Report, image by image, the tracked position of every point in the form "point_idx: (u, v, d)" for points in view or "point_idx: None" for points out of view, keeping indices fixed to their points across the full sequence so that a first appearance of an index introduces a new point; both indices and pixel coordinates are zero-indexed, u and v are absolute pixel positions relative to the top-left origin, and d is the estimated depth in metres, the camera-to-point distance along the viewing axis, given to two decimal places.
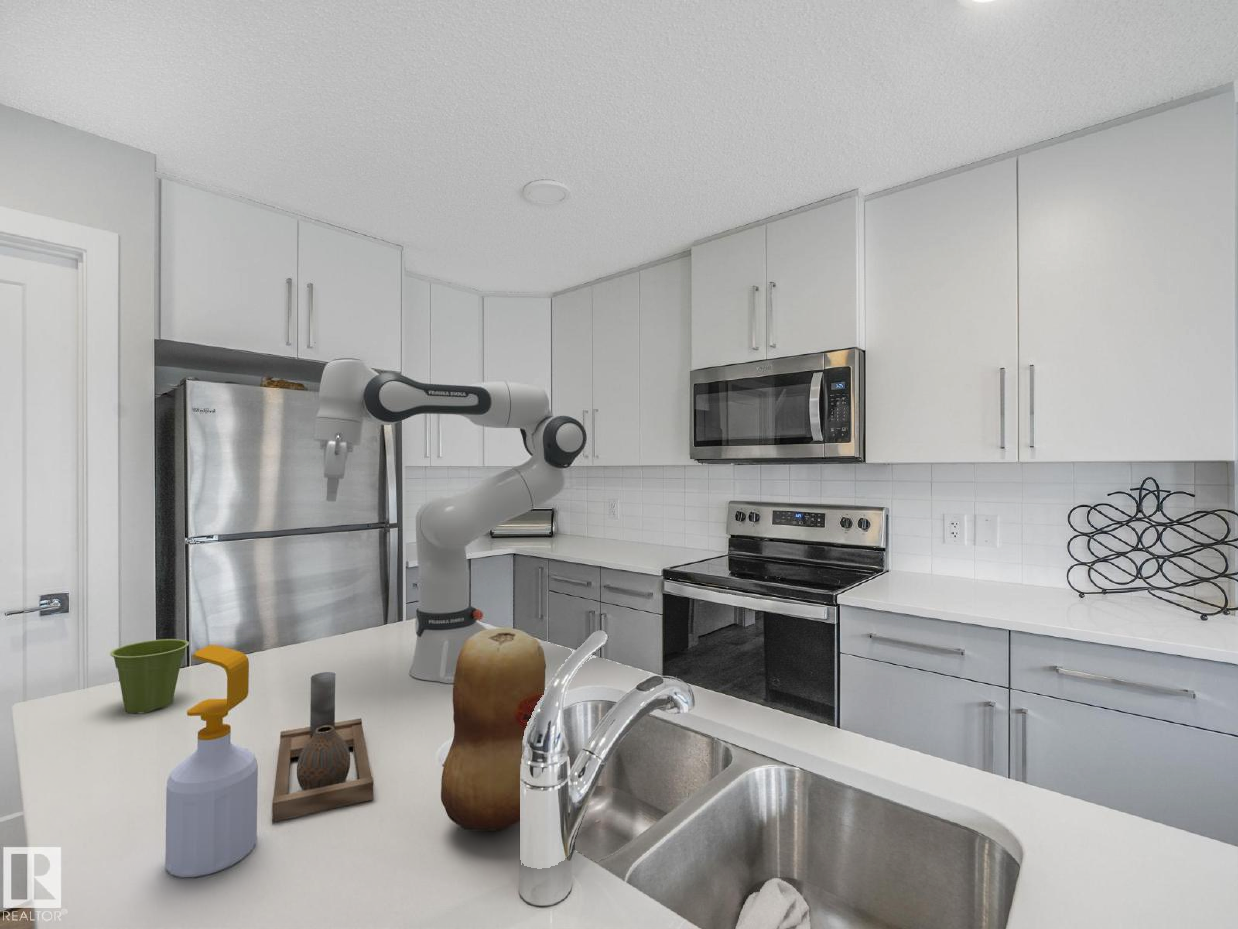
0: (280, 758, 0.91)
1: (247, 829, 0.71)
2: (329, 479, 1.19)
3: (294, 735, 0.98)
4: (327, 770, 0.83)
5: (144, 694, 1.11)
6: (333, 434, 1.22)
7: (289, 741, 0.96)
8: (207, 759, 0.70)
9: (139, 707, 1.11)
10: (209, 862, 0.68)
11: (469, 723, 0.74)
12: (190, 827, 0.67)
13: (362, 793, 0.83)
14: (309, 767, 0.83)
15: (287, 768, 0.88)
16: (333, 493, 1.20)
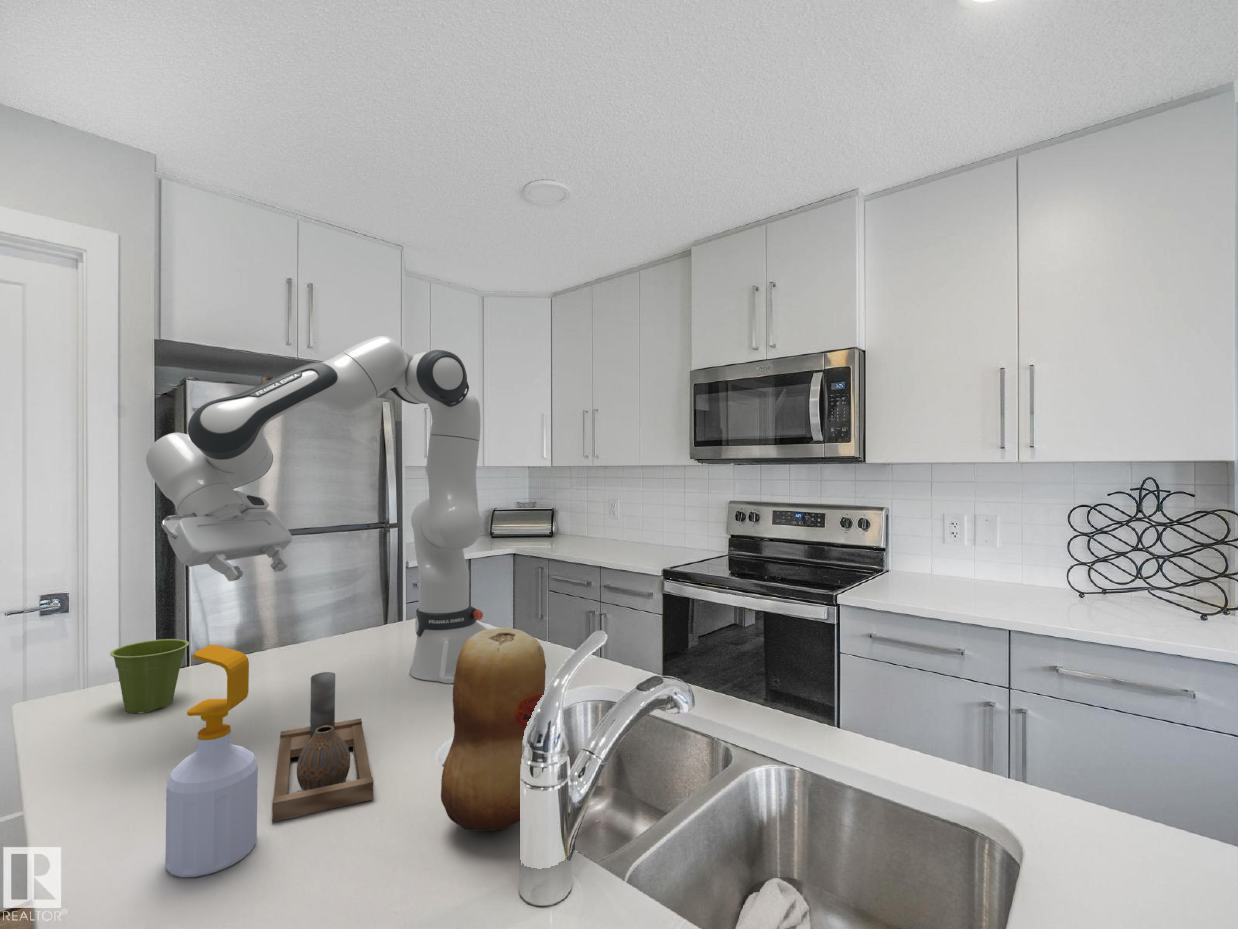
0: (280, 758, 0.91)
1: (247, 829, 0.71)
2: (209, 562, 0.96)
3: (294, 735, 0.98)
4: (327, 770, 0.83)
5: (144, 694, 1.11)
6: None
7: (289, 741, 0.96)
8: (207, 759, 0.70)
9: (139, 707, 1.11)
10: (209, 862, 0.68)
11: (469, 723, 0.74)
12: (190, 827, 0.67)
13: (362, 793, 0.83)
14: (309, 767, 0.83)
15: (287, 768, 0.88)
16: (228, 570, 0.96)
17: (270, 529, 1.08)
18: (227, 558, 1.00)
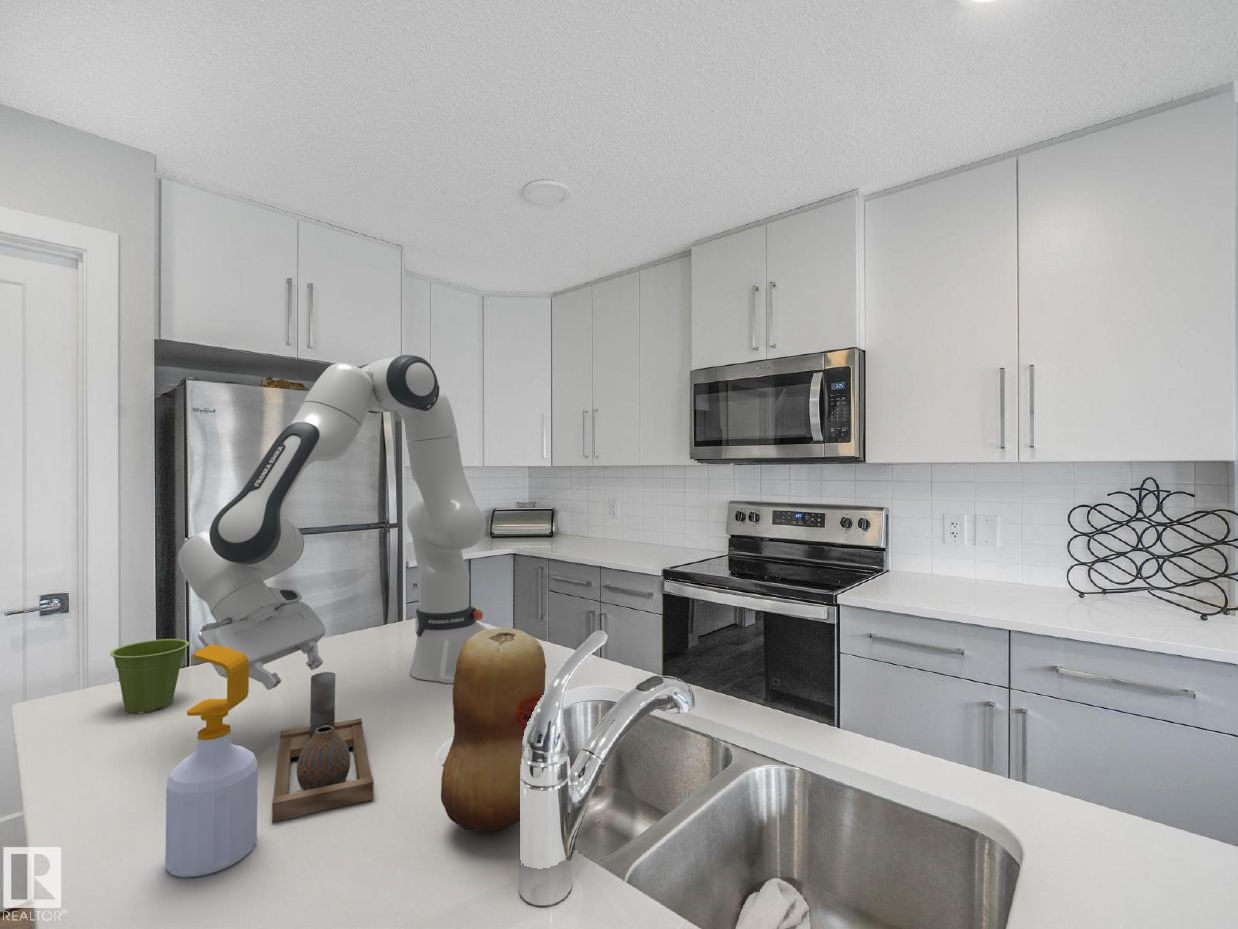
0: (280, 758, 0.91)
1: (247, 829, 0.71)
2: None
3: (294, 735, 0.98)
4: (327, 770, 0.83)
5: (144, 694, 1.11)
6: None
7: (289, 741, 0.96)
8: (207, 759, 0.70)
9: (139, 707, 1.11)
10: (209, 862, 0.68)
11: (469, 723, 0.74)
12: (190, 827, 0.67)
13: (362, 793, 0.83)
14: (309, 767, 0.83)
15: (287, 768, 0.88)
16: (266, 678, 0.94)
17: (304, 624, 1.06)
18: (264, 662, 0.98)
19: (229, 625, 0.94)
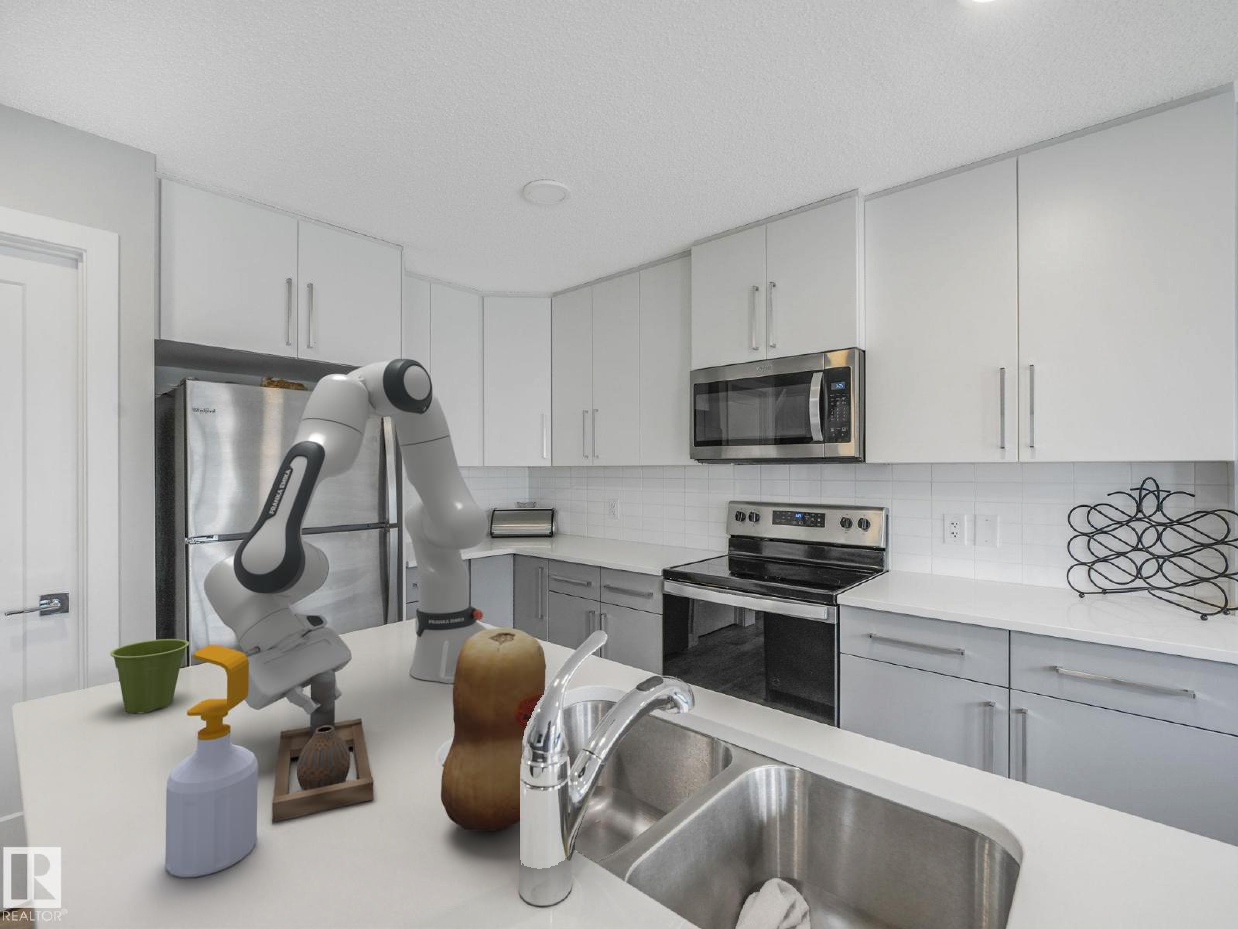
0: (280, 758, 0.91)
1: (247, 829, 0.71)
2: (287, 696, 0.95)
3: (294, 735, 0.98)
4: (327, 770, 0.83)
5: (144, 694, 1.11)
6: None
7: (289, 741, 0.96)
8: (207, 759, 0.70)
9: (139, 707, 1.11)
10: (209, 862, 0.68)
11: (469, 723, 0.74)
12: (190, 827, 0.67)
13: (362, 793, 0.83)
14: (309, 767, 0.83)
15: (287, 768, 0.88)
16: (306, 703, 0.95)
17: (330, 650, 1.05)
18: None
19: (258, 655, 0.93)
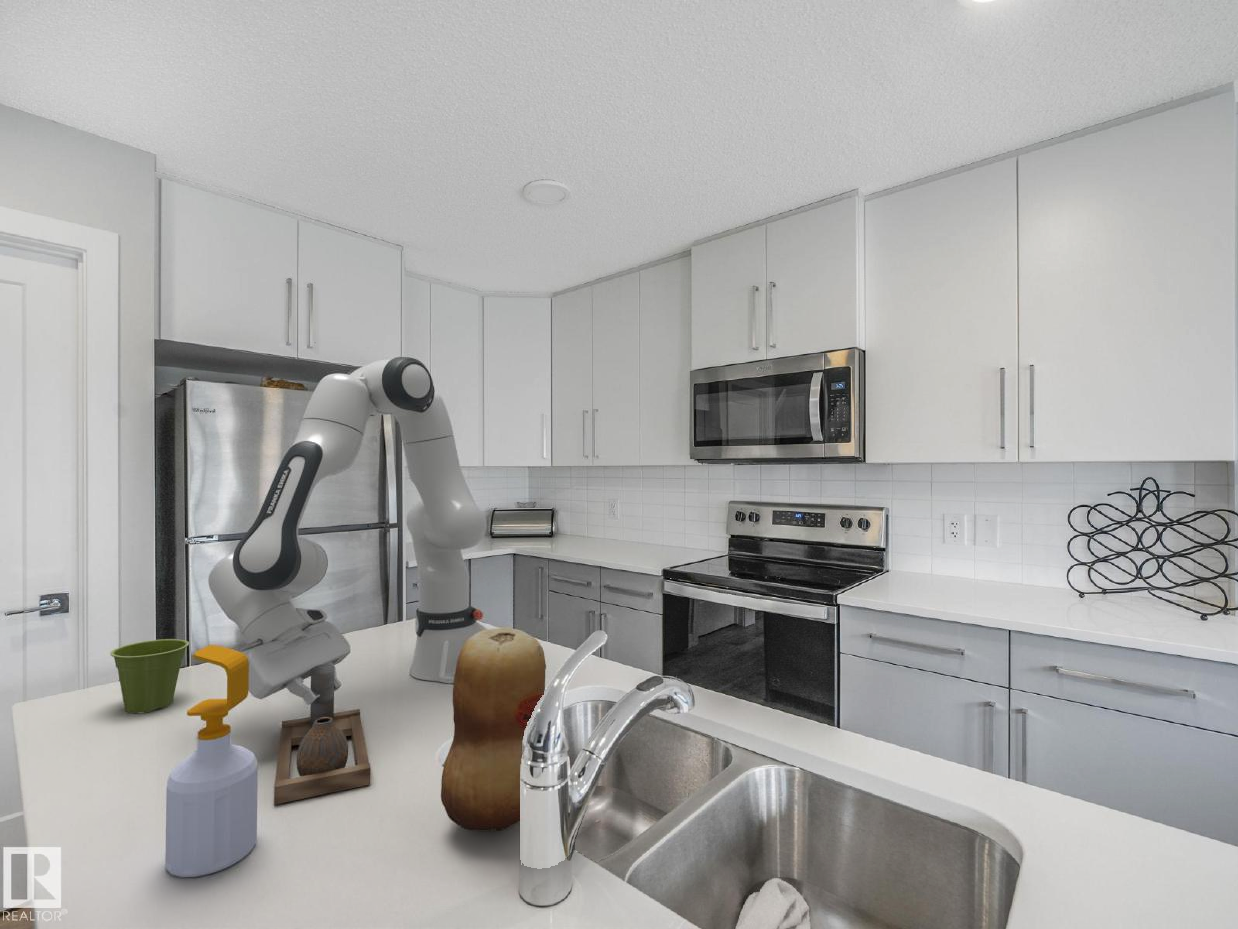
0: (281, 746, 0.94)
1: (247, 829, 0.71)
2: (288, 687, 0.99)
3: (295, 725, 1.02)
4: (326, 760, 0.86)
5: (144, 694, 1.11)
6: None
7: (290, 730, 1.00)
8: (207, 759, 0.70)
9: (139, 707, 1.11)
10: (209, 862, 0.68)
11: (469, 723, 0.74)
12: (190, 827, 0.67)
13: (360, 778, 0.87)
14: (309, 757, 0.86)
15: (288, 755, 0.91)
16: (306, 693, 0.99)
17: (330, 643, 1.09)
18: None
19: (261, 647, 0.97)
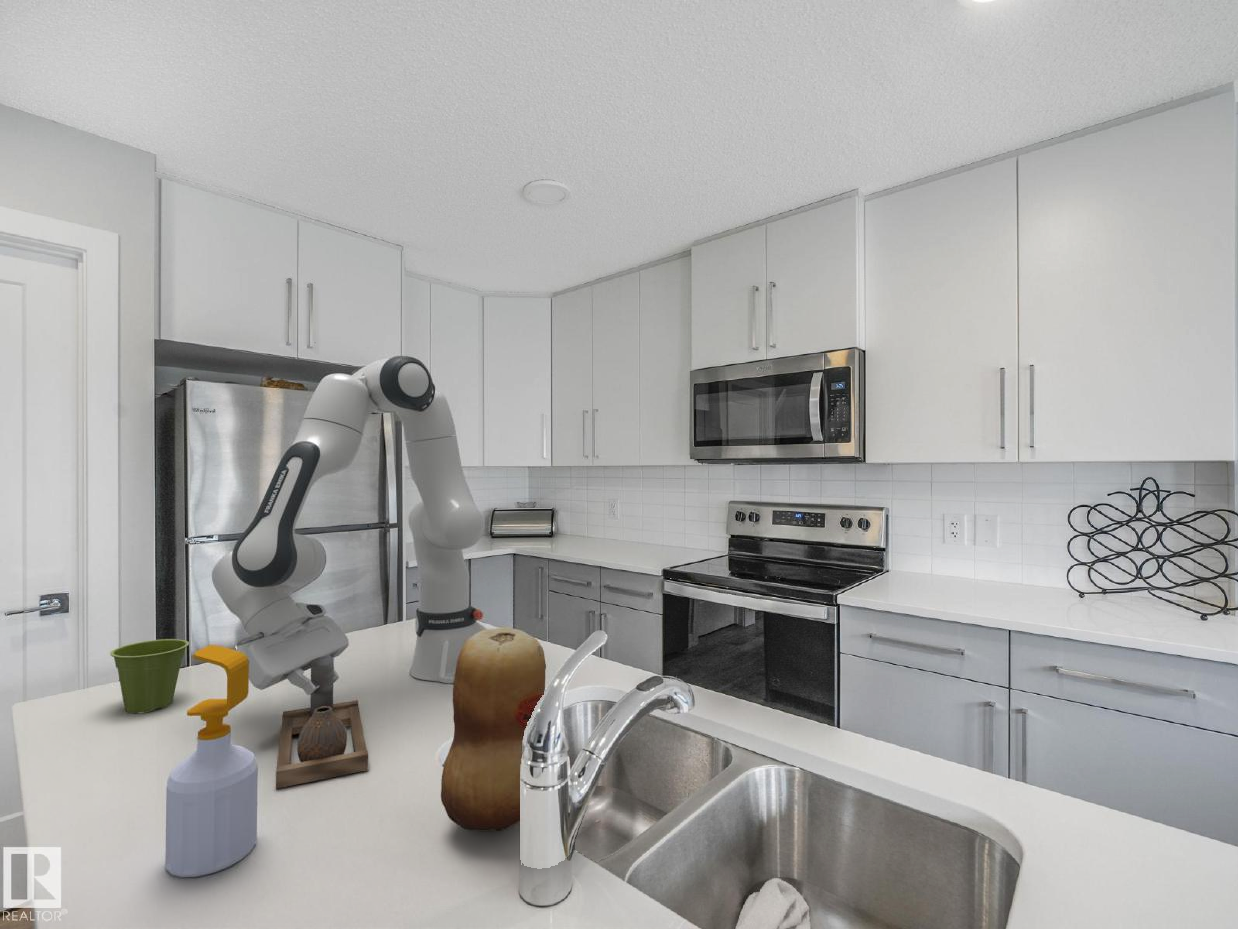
0: (282, 734, 0.98)
1: (247, 829, 0.71)
2: (289, 678, 1.03)
3: (295, 715, 1.06)
4: (326, 746, 0.90)
5: (144, 694, 1.11)
6: None
7: (291, 720, 1.04)
8: (207, 759, 0.70)
9: (139, 707, 1.11)
10: (209, 862, 0.68)
11: (469, 723, 0.74)
12: (190, 827, 0.67)
13: (358, 764, 0.91)
14: (309, 744, 0.90)
15: (289, 743, 0.95)
16: (306, 684, 1.03)
17: (329, 637, 1.13)
18: None
19: (262, 639, 1.01)
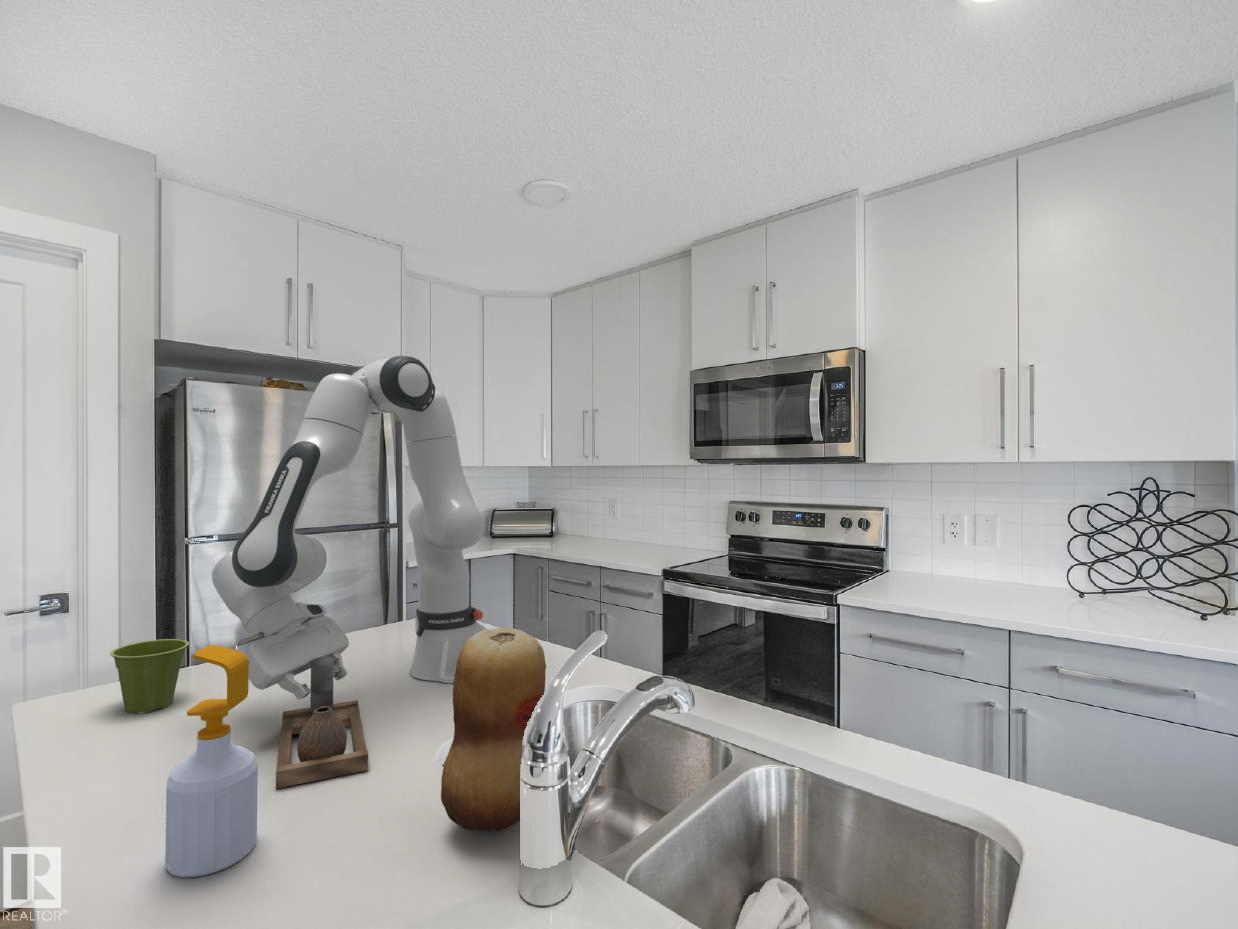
0: (282, 734, 0.98)
1: (247, 829, 0.71)
2: (279, 682, 1.00)
3: (295, 715, 1.06)
4: (326, 746, 0.90)
5: (144, 694, 1.11)
6: None
7: (291, 720, 1.04)
8: (207, 759, 0.70)
9: (139, 707, 1.11)
10: (209, 862, 0.68)
11: (469, 723, 0.74)
12: (190, 827, 0.67)
13: (358, 764, 0.91)
14: (309, 744, 0.90)
15: (289, 743, 0.95)
16: (297, 689, 1.01)
17: (329, 637, 1.13)
18: (293, 674, 1.05)
19: (262, 639, 1.01)
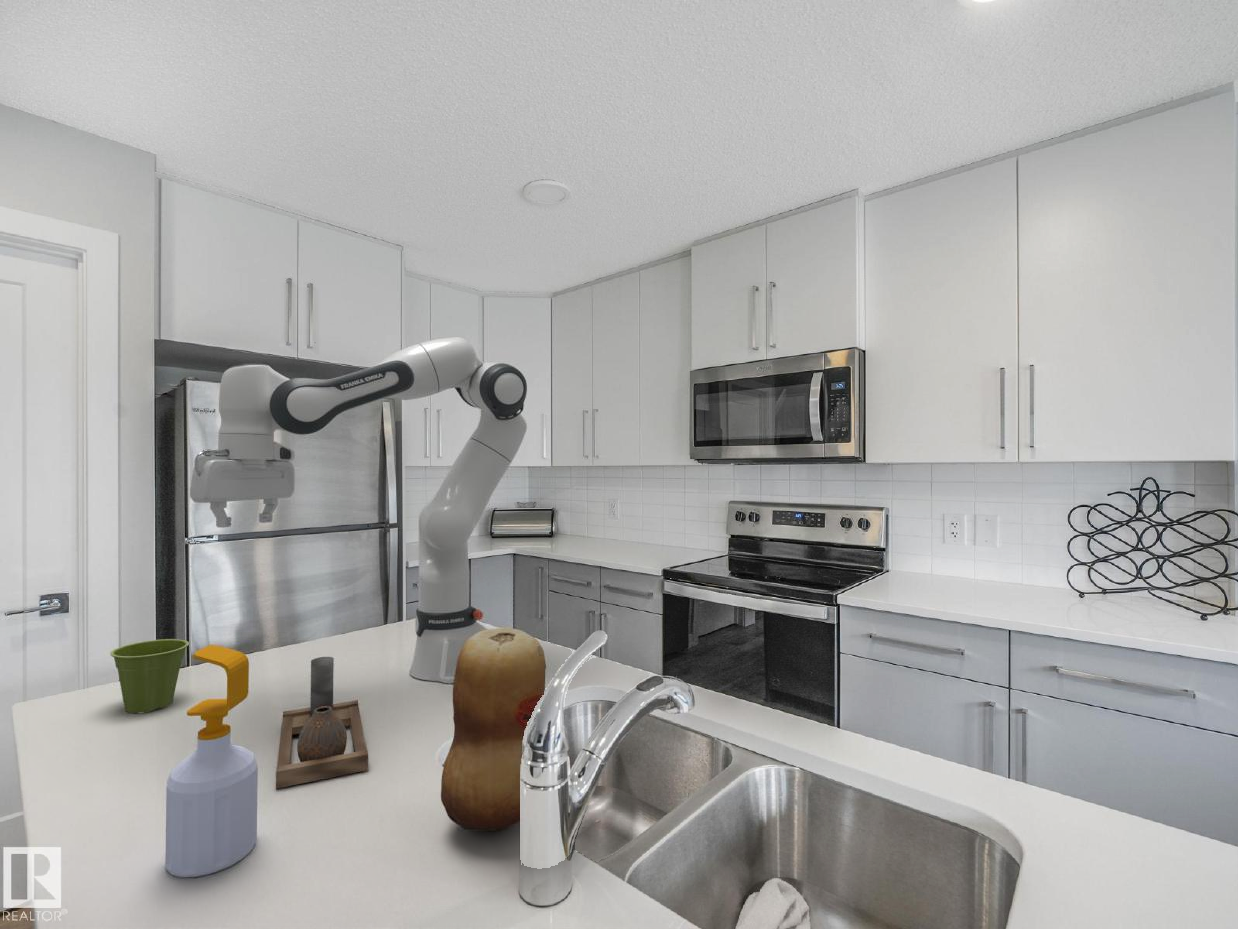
0: (282, 734, 0.98)
1: (247, 829, 0.71)
2: (211, 503, 1.06)
3: (295, 715, 1.06)
4: (326, 746, 0.90)
5: (144, 694, 1.11)
6: None
7: (291, 720, 1.04)
8: (207, 759, 0.70)
9: (139, 707, 1.11)
10: (209, 862, 0.68)
11: (469, 723, 0.74)
12: (190, 827, 0.67)
13: (358, 764, 0.91)
14: (309, 744, 0.90)
15: (289, 743, 0.95)
16: (221, 518, 1.06)
17: (279, 483, 1.17)
18: None
19: (223, 461, 1.05)
